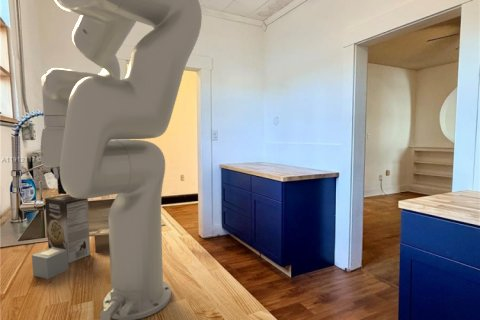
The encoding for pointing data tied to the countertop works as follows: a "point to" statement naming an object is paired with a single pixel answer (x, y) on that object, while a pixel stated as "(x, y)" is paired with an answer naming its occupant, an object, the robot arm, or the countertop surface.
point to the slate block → (50, 262)
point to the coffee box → (68, 225)
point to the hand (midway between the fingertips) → (65, 192)
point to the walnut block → (102, 240)
